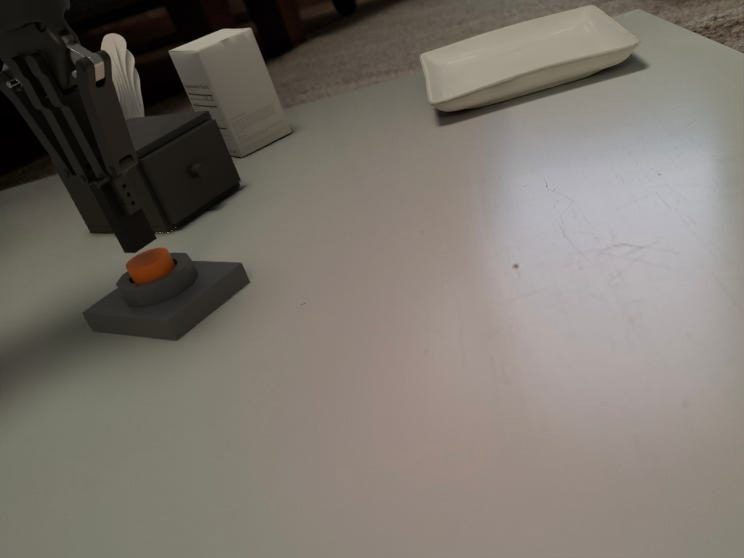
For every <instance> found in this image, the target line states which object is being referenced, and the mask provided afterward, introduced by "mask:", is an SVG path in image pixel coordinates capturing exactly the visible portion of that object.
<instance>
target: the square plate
mask: <svg viewBox="0 0 744 558" xmlns="http://www.w3.org/2000/svg"><path fill="white" fill-rule="evenodd" d="M640 43H641V40H640V39H638V37H636V36H635V35H634V34H633V33H631V32H630V31H629V30H627V28H625V27H624V26H623V25H621V24H620V23H618V22H617V21H616V20H614V18H612V17H611V16H609V14H607V13H606V12H604V11H603V10H602V9H600V8H599V7H598V6H596V5H594V4H588V5H584V6H580V7H577V8H573V9H569V10H564V11H560V12H556V13H553V14H547V15H545V16H540V17H536V18H532V19H529V20H528V19H527V20H525V21H521V22H518V23H514V24H510V25H507V26H504V27H501V28H500V27H499V28H497V29H493V30H491V31H487V32H483V33H481V34H478V35H475V36H471V37H468V38H465V39H462V40H459V41H456V42H453V43H451V44H447V45H444V46H441V47H439V48H435V49H432V50H428V51H426V52H423V53H421V54H420V55H419V62H420V65H421V68H422V71H423V76H424V81H425V89H426V97H427V102H428V104H429V105H430V106H431V107H433V108H435V109H437V110H439V111H441V112H457V111H461V110H471V109H472V110H473V109H478V108H483V107H487V106H490V105H494V104H498V103H502V102H506V101H508V100H512V99H515V98H518V97H522V96H525V95H529V94H533V93H536V92H539V91H540V92H541V91H543V90H546V89H551V88H554V87H557V86H560V85H561V86H562V85H565V84H568V83H571V82H576V81H579V80H582V79H584V78H588V77H590V76H593V75H595V74H597V73H599V72H600V71H602V70H604V69H608V68H611V67H613V66H617V65H619V64H621V63H622V62H624V61H625V60H627V59H628V58H629V57H630V56H631V55H632V53H634V51H635V49H636V48H638V46H639V44H640Z"/></svg>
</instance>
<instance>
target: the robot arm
mask: <svg viewBox="0 0 744 558" xmlns="http://www.w3.org/2000/svg"><path fill="white" fill-rule="evenodd" d="M70 8H71V2H70V0H0V60H1V62H2V63H3V66H2V70H1V71H0V91H1V93H2V94H3V95H5V97H7V98H8V100H10V101H11V103H12V105H14V107H15V108H16V110H17V111H18V112H19V114H20V116H21V117H22V119H23V120H24V121H25V122H26V124H27V126H28V127H29V128H30V130H31V131H32V133H33V134H34V136H35V137H36V138H37V139H38V141H39V142H40V144H41V145H42V147H43V148H44V150H45V151H46V152H47V153H48V155H49V157H50V158H51V159H53V161H54V162H55V163H56V165H57V166H58V168H59V169H60V170H61V172H62V173H63V175H64V176H65V177H66V178H68V179H71V178H73V177H76V178H78V179H79V181H80V182H81V183H82V184H84V185H88V187H89V189H90V191H91V193H92V194H93V196H94V198H95V200H96V202H97V204H98V206H99V208H100V209H101V211H102V212H103V214H104V215H105V217H106V219H107V221H108V223H109V224H110V226H111V228H112V230H113V232H114V233H113V234H114V236H115V238H116V240H117V241H118V243H119V245H120V247H121V249H122V252H124V254H136V253H138V252H139V251H141V250H142V249H143V248H145V247H146V246H149V245H150V244H151V243H153V242H154V241H156V240H157V239H158V238H157V236H156V233H154V232H153V230H152V228H151V226H150V224H149V222H148V220H147V218H146V216H145V214H144V212H143V210H142V207H141V203H140V201H139V199H138V197H137V195H136V193H135V191H134V189H133V187H132V185H131V183H130V181H129V179H128V177H127V172H128V170H129V169H130V168H132V167H133V166H134V165H136V164H138V158H137V155H136V152H135V149H134V146H133V143H132V139H131V136H130V133H129V130H128V127H127V124H126V121H125V118H124V114H123V111H122V108H121V105H120V102H119V99H118V96H117V93H116V90H115V86H114V83H113V80H112V65H111V58H110V56H109V54H108V53H107V52H106V51H104V50H101V49H100V50H98V51H96V52H92V51H91V50H89V49H87V48H86V47H84V46H82V45H81V41H80V39H79V37H78V35H77V34H76V33H75V32H74V31H73V29H72V28H71V27H70V25H69V24H68V22H67V21H66V19H65V13H66V12H68V11H69V10H70Z"/></svg>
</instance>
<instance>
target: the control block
mask: <svg viewBox="0 0 744 558" xmlns="http://www.w3.org/2000/svg"><path fill="white" fill-rule="evenodd" d="M169 253H170V255H171V257H172V259H173V261H174V263H175V268H174V269H172V270H171V271H170V272H168V273H167V274H166V275H164V276H161V277H159V278H157V279H155V280H152V281H149V282H145V283H141V284H136V283H134V282H133V280H132V278H131V276H130V274H129V273H128V271H127V270H126V272H124V273H122V274H121V276H120V277H119V278H118V280H117V281H116V283H115V285H116V288H114V289H113V290H112V291H111V292H108V294H106V295H104V297H102V298H101V299H99V300H97V301H96V302H95V303H93V304H92V305H91V306H89V307H88V308H86V309H84V310H83V311H82V312H81V314H82V316H83V317H84V319H85V321H86V323H87V324H88V326H89V328H90V330H91V332H92V333H101V334H111V335H120V336H121V335H122V336H130V337H138V338H139V337H140V338H147V339H148V338H149V339H158V340H167V341H179V340H180V339H181V338H182V337H183V336H185V335H186V334H187V333H189V332H190V331H191V330H192V329H194V328H195V327H196V326H197V325H199V324H200V323H201V322H202V321H203V320H205V319H206V318H208V317H209V315H211V314H212V313H213V312H215V311H216V310H217V309H218V308H220V307H221V306H222V305H224V304H225V303H226V302H228V301H229V300H230V299H231V298H233V296H234V295H236V294H237V293H238V292H240V291H241V290H243V288H245V287H246V286H247V285H248V284H250V283H251V280H250V278H249V276H248V274H247V271H246V269H245V267H244V265H243V262H242V261H241V262H237V261H215V260H213V261H212V260H211V261H210V260H208V261H207V260H192V258H191V257H190V256H189V255H188V254H187V253H186V252H169Z"/></svg>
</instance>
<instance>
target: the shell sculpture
mask: <svg viewBox="0 0 744 558" xmlns="http://www.w3.org/2000/svg"><path fill="white" fill-rule="evenodd" d="M100 50H104V51H106V52H107V53H108V54H109V56H110V58H111V65H112V80H113V83H114V86H115V90H116V93H117V96H118V99H119V102H120V105H121V108H122V111H123V114H124V118H125V120H127V119H129V118H137V117H146V116H145V107H144V101H143V95H142V90H141V79H140V75H139V72H138V69H137V68H136V67H135V64H136V61H135V57H134V55H133V53H132V52H131V51H130V50H129V49H127V41H126V39H125V37H123V36H122V35H120V34H118V33H115V32H111V33H107V34H105V35H104V36H103V38H102V41H101V46H100Z"/></svg>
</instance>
